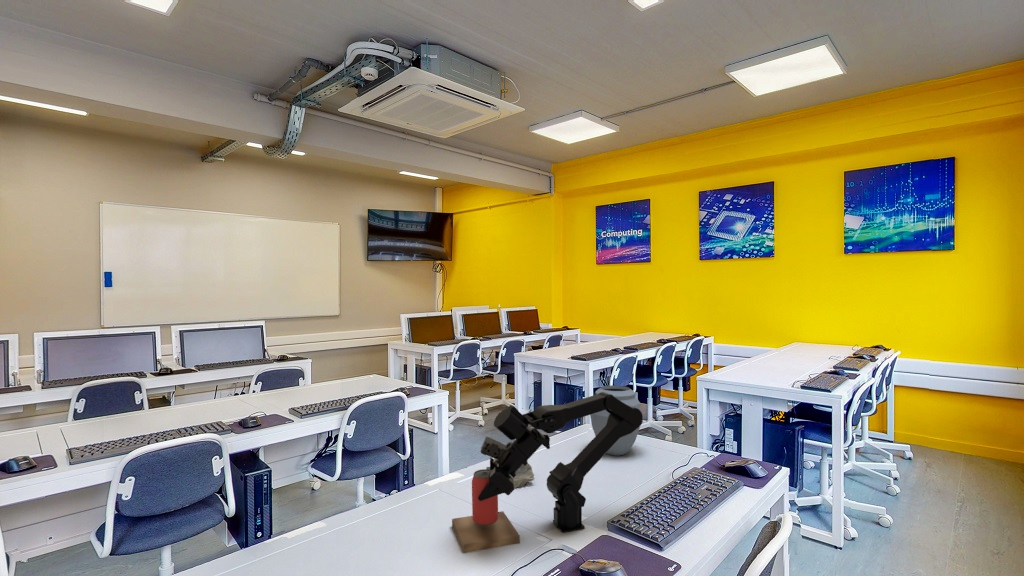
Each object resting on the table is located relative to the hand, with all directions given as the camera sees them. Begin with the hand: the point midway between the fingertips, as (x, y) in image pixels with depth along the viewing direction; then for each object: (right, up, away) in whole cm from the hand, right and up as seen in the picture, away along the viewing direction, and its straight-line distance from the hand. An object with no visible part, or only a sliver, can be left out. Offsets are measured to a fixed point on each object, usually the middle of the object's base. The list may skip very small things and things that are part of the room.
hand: (479, 493), depth 126 cm
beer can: (+1, -7, 0) cm, 7 cm away
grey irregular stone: (+8, -11, +36) cm, 38 cm away
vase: (+48, -10, +62) cm, 79 cm away
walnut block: (+1, -11, 0) cm, 11 cm away
